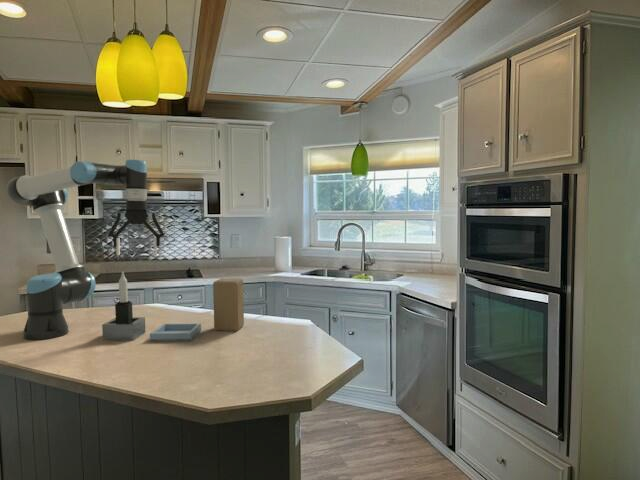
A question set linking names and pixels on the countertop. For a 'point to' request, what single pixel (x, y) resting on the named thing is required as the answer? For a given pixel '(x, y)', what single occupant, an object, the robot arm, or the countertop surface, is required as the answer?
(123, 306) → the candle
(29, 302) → the robot arm
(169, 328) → the tray
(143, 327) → the collar
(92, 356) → the countertop surface
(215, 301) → the wooden block
